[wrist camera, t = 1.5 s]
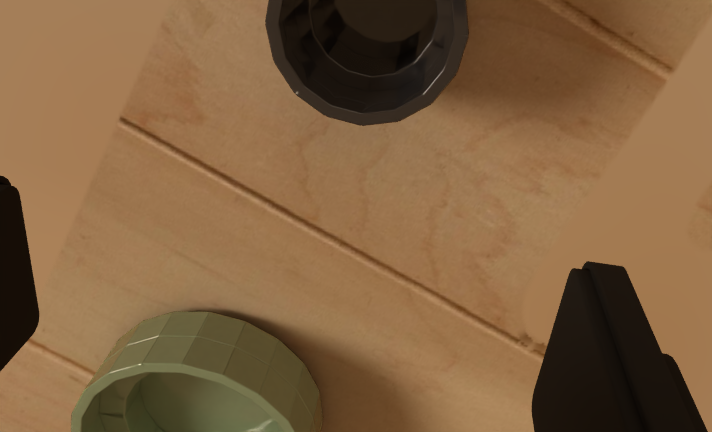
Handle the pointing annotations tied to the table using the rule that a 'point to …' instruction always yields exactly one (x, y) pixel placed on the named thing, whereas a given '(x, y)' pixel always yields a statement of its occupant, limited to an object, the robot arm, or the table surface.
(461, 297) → the table surface
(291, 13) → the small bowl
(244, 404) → the big bowl
